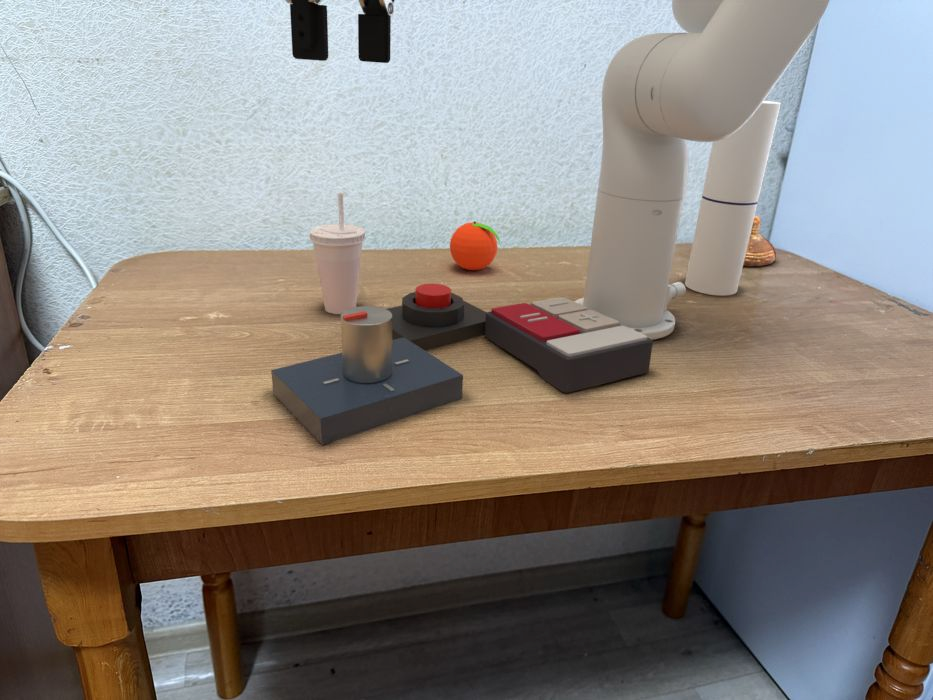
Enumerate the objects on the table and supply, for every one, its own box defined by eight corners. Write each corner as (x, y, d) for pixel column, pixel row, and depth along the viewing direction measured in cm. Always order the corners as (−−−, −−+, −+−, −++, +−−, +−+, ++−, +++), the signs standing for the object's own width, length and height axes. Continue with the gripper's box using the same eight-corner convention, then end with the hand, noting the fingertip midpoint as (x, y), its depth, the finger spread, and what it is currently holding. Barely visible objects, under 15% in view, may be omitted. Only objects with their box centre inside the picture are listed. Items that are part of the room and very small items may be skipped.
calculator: (563, 292, 76) (656, 333, 64) (561, 327, 78) (650, 372, 66) (484, 305, 71) (568, 352, 59) (483, 342, 73) (564, 394, 61)
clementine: (510, 270, 96) (514, 222, 93) (486, 281, 90) (489, 231, 87) (465, 259, 99) (467, 213, 96) (439, 270, 94) (441, 221, 91)
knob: (376, 357, 61) (375, 299, 58) (401, 375, 58) (401, 315, 55) (334, 368, 58) (331, 308, 56) (357, 387, 55) (356, 325, 53)
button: (437, 295, 75) (437, 281, 74) (457, 306, 72) (458, 291, 72) (408, 301, 73) (408, 286, 72) (428, 312, 70) (428, 297, 69)
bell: (695, 244, 114) (703, 203, 111) (766, 251, 112) (777, 209, 109) (703, 263, 103) (713, 218, 100) (782, 270, 102) (794, 225, 98)
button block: (451, 307, 81) (452, 280, 79) (497, 331, 74) (499, 303, 73) (366, 326, 74) (366, 297, 72) (409, 355, 67) (409, 324, 66)
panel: (404, 359, 66) (404, 335, 65) (462, 399, 59) (463, 373, 58) (273, 394, 59) (270, 368, 57) (322, 445, 51) (320, 416, 50)
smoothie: (356, 321, 75) (352, 200, 69) (304, 315, 76) (296, 195, 70) (374, 302, 81) (372, 189, 75) (326, 297, 82) (320, 185, 76)
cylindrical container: (682, 290, 91) (720, 100, 80) (686, 276, 97) (722, 98, 86) (736, 298, 88) (782, 104, 78) (737, 283, 94) (779, 101, 84)
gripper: (311, -231, 41) (320, 61, 48) (434, -151, 56) (427, 65, 63) (220, -220, 44) (242, 55, 51) (360, -146, 58) (362, 60, 66)
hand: (344, 60), depth 57 cm, fingers open, 9 cm apart
